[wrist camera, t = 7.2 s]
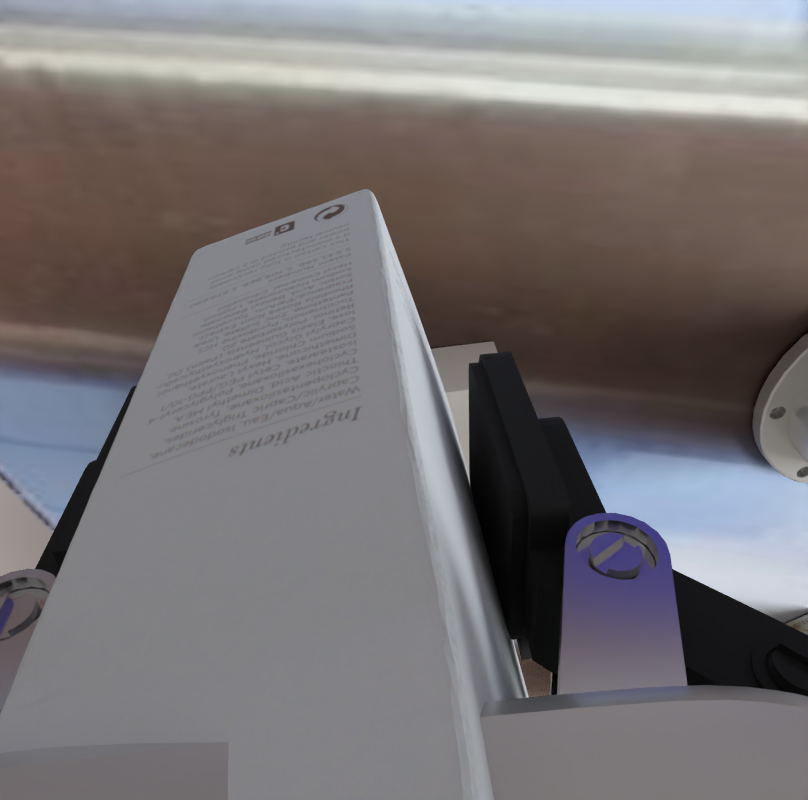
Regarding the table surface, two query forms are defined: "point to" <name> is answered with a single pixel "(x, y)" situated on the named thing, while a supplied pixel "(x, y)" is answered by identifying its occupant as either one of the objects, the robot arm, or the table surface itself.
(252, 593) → the skincare box
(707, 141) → the table surface
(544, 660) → the robot arm
